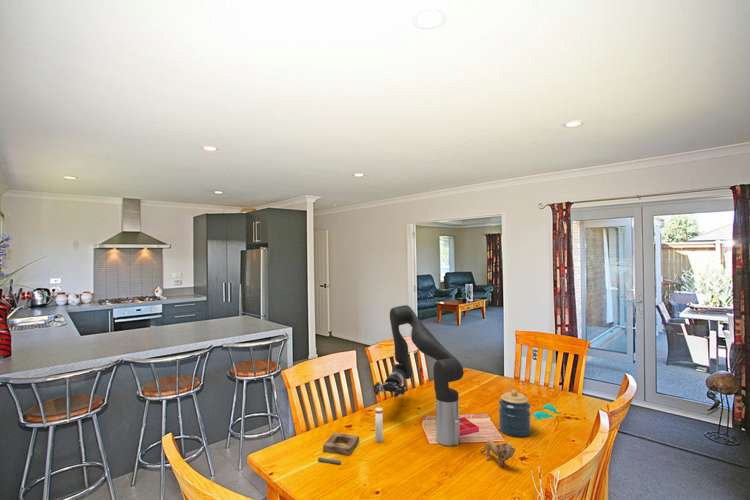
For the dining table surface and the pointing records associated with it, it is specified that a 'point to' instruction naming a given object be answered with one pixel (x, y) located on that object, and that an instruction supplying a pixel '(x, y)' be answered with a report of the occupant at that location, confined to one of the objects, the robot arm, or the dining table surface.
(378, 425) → the slim white bottle
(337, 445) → the brown square frame
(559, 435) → the dining table surface
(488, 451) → the lion figurine
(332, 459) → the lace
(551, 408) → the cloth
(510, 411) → the canister
